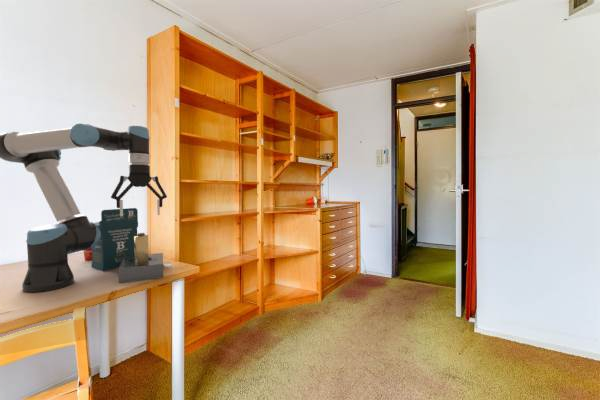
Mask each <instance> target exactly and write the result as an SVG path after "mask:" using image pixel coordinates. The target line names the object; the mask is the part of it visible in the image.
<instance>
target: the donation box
mask: <svg viewBox="0 0 600 400" xmlns="http://www.w3.org/2000/svg"><path fill="white" fill-rule="evenodd" d="M138 215H139V214H138V208H136V207H133V208H130V207H129V208H123V216H120V208H116V209H115V208H113V209H112V208H111V209H103V210H101V213H100V216H101V220H100V221H96V222H93V223H94V224H97V225H98V226H99V228H100V230H101V238H100V239H99V242H98V244H97V245H96V246H94V247H92V260H91V261H92V262H91V268H92V269H95V270H98V271H100V272H108V271H112V270H117V269H119V267H120V265H121V263H122V261H123V259H124V257H125V256H133V255H134V236H136V235H138V228H139V217H138Z"/></svg>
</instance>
